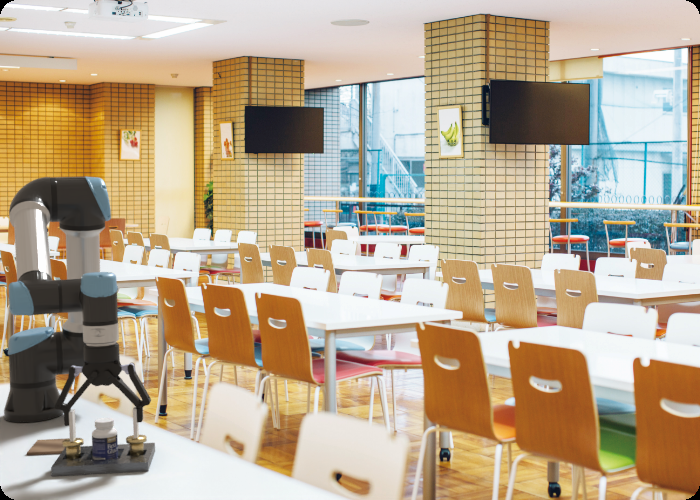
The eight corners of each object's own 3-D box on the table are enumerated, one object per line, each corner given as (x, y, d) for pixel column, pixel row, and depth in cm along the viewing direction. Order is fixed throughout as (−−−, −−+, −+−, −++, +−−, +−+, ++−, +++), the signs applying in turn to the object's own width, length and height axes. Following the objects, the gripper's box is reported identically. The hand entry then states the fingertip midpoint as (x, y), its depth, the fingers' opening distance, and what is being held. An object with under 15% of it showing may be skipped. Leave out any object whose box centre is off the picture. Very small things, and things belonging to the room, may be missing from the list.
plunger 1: (65, 455, 186) (64, 438, 186) (85, 454, 187) (85, 437, 186) (61, 461, 182) (60, 444, 181) (82, 460, 182) (81, 443, 182)
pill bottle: (111, 467, 182) (109, 423, 181) (88, 466, 183) (86, 422, 182) (122, 460, 187) (121, 417, 186) (100, 458, 188) (98, 416, 188)
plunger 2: (128, 451, 188) (127, 435, 187) (148, 450, 188) (147, 434, 188) (125, 458, 183) (124, 441, 183) (145, 456, 184) (145, 439, 184)
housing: (65, 455, 191) (65, 447, 191) (155, 451, 193) (154, 442, 193) (51, 476, 177) (51, 467, 177) (148, 471, 179) (147, 461, 179)
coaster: (37, 442, 202) (37, 439, 201) (80, 440, 203) (80, 437, 203) (26, 455, 192) (26, 452, 192) (72, 452, 193) (71, 450, 193)
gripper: (37, 348, 178) (42, 446, 179) (157, 343, 181) (160, 440, 182) (46, 342, 185) (50, 436, 187) (161, 338, 188) (164, 430, 190)
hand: (104, 438), depth 185 cm, fingers open, 13 cm apart
